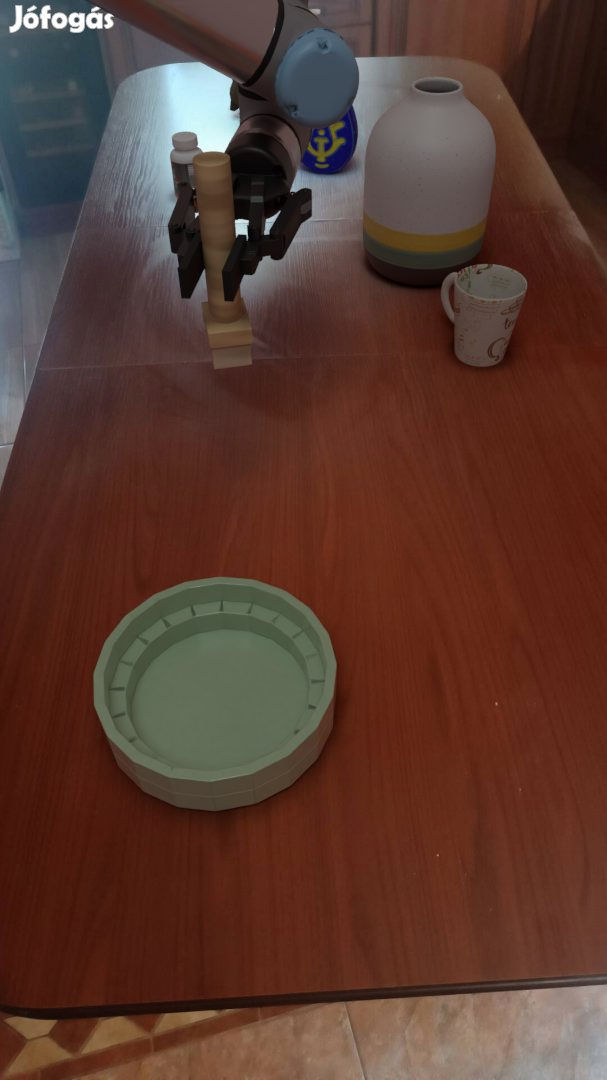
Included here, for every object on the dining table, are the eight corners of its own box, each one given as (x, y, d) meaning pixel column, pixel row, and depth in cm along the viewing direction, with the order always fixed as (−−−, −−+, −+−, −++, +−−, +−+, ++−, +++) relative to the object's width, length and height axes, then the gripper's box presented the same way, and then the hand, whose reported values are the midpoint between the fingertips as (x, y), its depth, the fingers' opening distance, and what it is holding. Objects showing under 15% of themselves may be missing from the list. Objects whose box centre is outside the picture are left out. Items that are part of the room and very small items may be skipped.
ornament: (289, 178, 138) (286, 82, 127) (299, 158, 144) (297, 64, 133) (353, 182, 136) (355, 85, 125) (360, 161, 142) (363, 67, 132)
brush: (205, 338, 79) (182, 147, 65) (245, 333, 79) (231, 143, 66) (212, 371, 75) (189, 174, 62) (254, 365, 75) (241, 169, 62)
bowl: (104, 635, 71) (91, 595, 67) (310, 602, 73) (309, 562, 69) (110, 836, 58) (95, 803, 54) (358, 789, 61) (361, 753, 57)
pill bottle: (169, 197, 133) (160, 135, 126) (194, 188, 136) (187, 126, 129) (188, 207, 130) (181, 145, 123) (214, 197, 133) (208, 135, 126)
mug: (476, 381, 96) (488, 307, 89) (410, 335, 104) (417, 262, 96) (526, 359, 99) (542, 285, 92) (459, 315, 107) (469, 243, 99)
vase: (336, 268, 116) (339, 86, 98) (411, 229, 124) (426, 54, 106) (428, 311, 107) (449, 120, 90) (502, 266, 116) (534, 83, 98)
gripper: (335, 210, 84) (302, 331, 68) (186, 202, 85) (119, 319, 69) (337, 134, 78) (301, 247, 62) (177, 127, 80) (103, 235, 64)
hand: (205, 284), depth 66 cm, fingers closed on brush, 3 cm apart
